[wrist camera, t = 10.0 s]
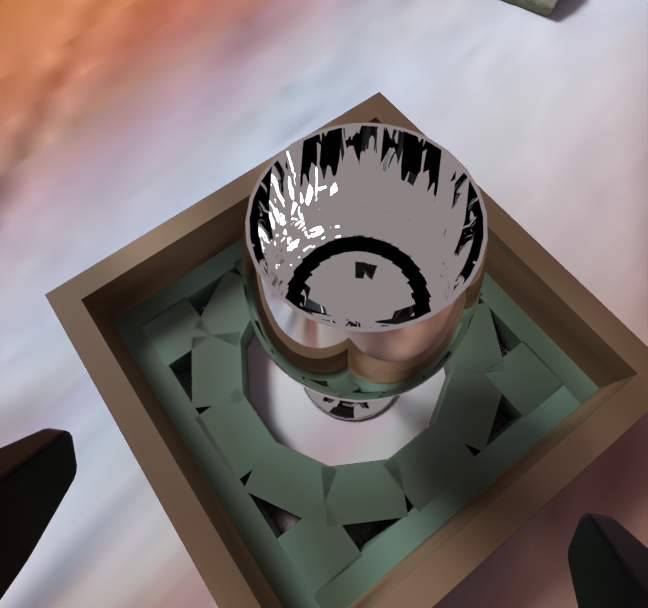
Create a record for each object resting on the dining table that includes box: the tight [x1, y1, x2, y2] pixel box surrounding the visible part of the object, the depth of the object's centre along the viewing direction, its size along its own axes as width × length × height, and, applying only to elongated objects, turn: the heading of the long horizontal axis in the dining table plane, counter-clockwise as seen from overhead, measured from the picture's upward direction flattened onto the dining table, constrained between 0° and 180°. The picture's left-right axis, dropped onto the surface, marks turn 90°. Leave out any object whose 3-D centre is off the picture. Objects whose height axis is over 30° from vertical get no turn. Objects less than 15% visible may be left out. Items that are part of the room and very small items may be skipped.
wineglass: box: [242, 123, 488, 420], centre depth 14 cm, size 6×6×12 cm
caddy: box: [45, 92, 648, 608], centre depth 18 cm, size 16×16×4 cm
